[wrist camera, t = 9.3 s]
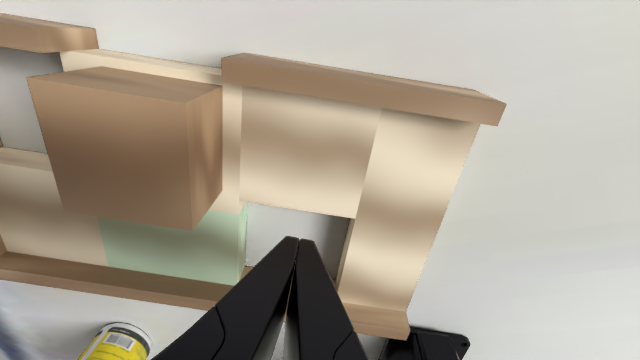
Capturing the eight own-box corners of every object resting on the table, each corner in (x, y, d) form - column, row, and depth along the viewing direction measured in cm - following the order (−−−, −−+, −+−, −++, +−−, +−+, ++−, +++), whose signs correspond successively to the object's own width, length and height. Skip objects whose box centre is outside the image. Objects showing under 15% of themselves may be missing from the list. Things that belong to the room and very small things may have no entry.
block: (222, 190, 18) (192, 231, 14) (120, 174, 17) (64, 211, 14) (222, 85, 15) (185, 103, 11) (101, 66, 15) (26, 77, 11)
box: (397, 299, 23) (407, 347, 20) (24, 242, 23) (-34, 281, 19) (474, 90, 16) (512, 106, 13) (-66, 2, 16) (-185, -7, 12)
